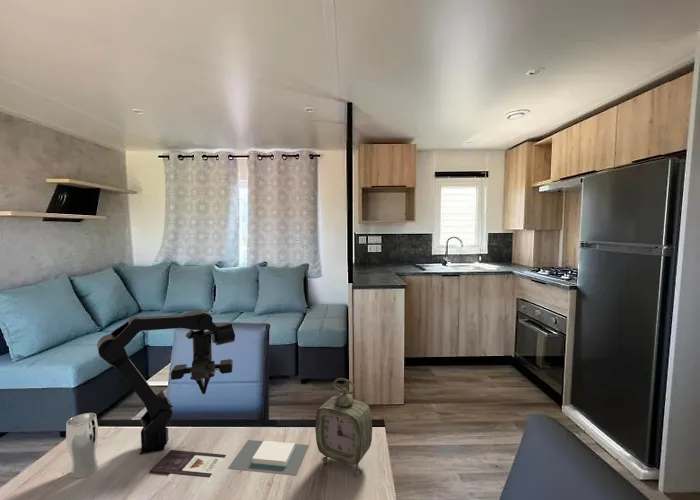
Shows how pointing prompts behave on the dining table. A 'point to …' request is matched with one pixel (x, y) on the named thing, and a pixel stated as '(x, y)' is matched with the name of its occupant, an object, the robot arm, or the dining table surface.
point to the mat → (245, 463)
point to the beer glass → (82, 444)
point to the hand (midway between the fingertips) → (204, 393)
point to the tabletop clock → (344, 428)
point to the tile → (273, 454)
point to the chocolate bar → (188, 463)
